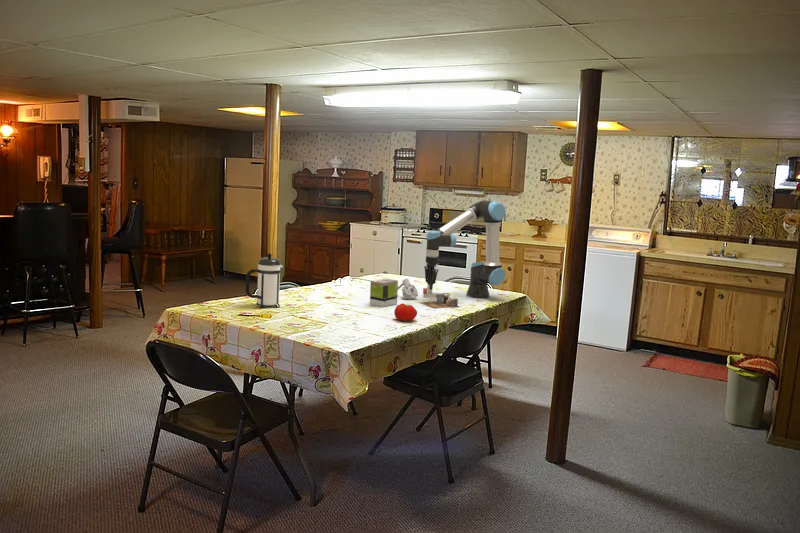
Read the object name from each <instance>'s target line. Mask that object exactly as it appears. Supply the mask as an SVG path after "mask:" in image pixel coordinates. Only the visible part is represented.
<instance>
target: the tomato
mask: <svg viewBox="0 0 800 533" xmlns="http://www.w3.org/2000/svg"><path fill="white" fill-rule="evenodd" d="M396 305H397V306H396V307H395V309H394V311H393V313H394V314H393V315H394V317H395V318H396V319H397V320H399V321H400V322H412V320H415V319H416V317H417V315H418V311H417V309H416V308H415V307H414V306H413V305H411V304H405V303H400V304H396Z"/></svg>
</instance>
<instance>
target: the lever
mask: <svg viewBox="0 0 800 533" xmlns="http://www.w3.org/2000/svg"><path fill="white" fill-rule="evenodd" d="M422 294H423V298H425V299H429V298H430V299H436V301H437V303H442V301H443V298H448V299H450V297H451V295H450V293H448V292H442V293H440V292H438V293H437V292H435V293H433V292H432V293H427V287H424V288H422Z"/></svg>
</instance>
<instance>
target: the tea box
mask: <svg viewBox="0 0 800 533" xmlns="http://www.w3.org/2000/svg"><path fill="white" fill-rule="evenodd" d="M398 286H399V280H397V279H391V278H380V279H375V280H371V281H370V286H369V287H370V288H369V289H370V291H369V305H370V306H375V307H379V308H383V307H389V306H392V305H398V291H399V289H398Z"/></svg>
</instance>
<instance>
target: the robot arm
mask: <svg viewBox="0 0 800 533" xmlns="http://www.w3.org/2000/svg"><path fill="white" fill-rule="evenodd" d="M506 211H507V210H506V207H505V206H504V204H503V203H502V202H499V201H497V200H485V199H484V200H480V201H479V200H478V201H477V202H476V203H474V204H471V205H470V206H469V207H467V208H466V210H465V211H463V213H461V214H459V215H457V216H456V217H455V218H453V219H451V220H450V221H448V222H447V223H446V224H444V225H443V226H441V227H439V228H437V229H436V230H429V231H427V234H426V236H425V238H426V253H425V255H426V257H425V263H426V265H424V267H423V268H424V275H425V276H424V278H425V283H426V284H427V287H426V288H427V293H433V288H434V287H433V286H434V284H436V281H437V276H438V273H439V268H437V264H438V263H439V254H440V252H439V248H441V247H443V248H444V247H446V248H450V247H455V246H456V245H457V237H456V235H455V234H454V233H456V232H458V231H459V230H460V229H462V228H463V227H465V226H467V225H468V224H470V223H471V222H476V221H477V220H479V219H483V223H484V224H485V260H486V261H483V262H482V261H481V262H480V261H479V262H478V261H475V262H474V261H473V262H472V263H471V266H470V279H469V286H468V288H467V291H466V296H467V297H469V296H470V298H475V297H476V298H477V299H486V298H487V299H489V297H490V292H489V287H488V284H489V285H492V286H499V285H501V284H502V283H503V282H504V281H505V279H506V271H505V270H504V268H502V267H503V266H502V264H503V263H502V262H500V225H501V224H502V222H503V219H504V218H505V216H506ZM476 298H475V299H476Z"/></svg>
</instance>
